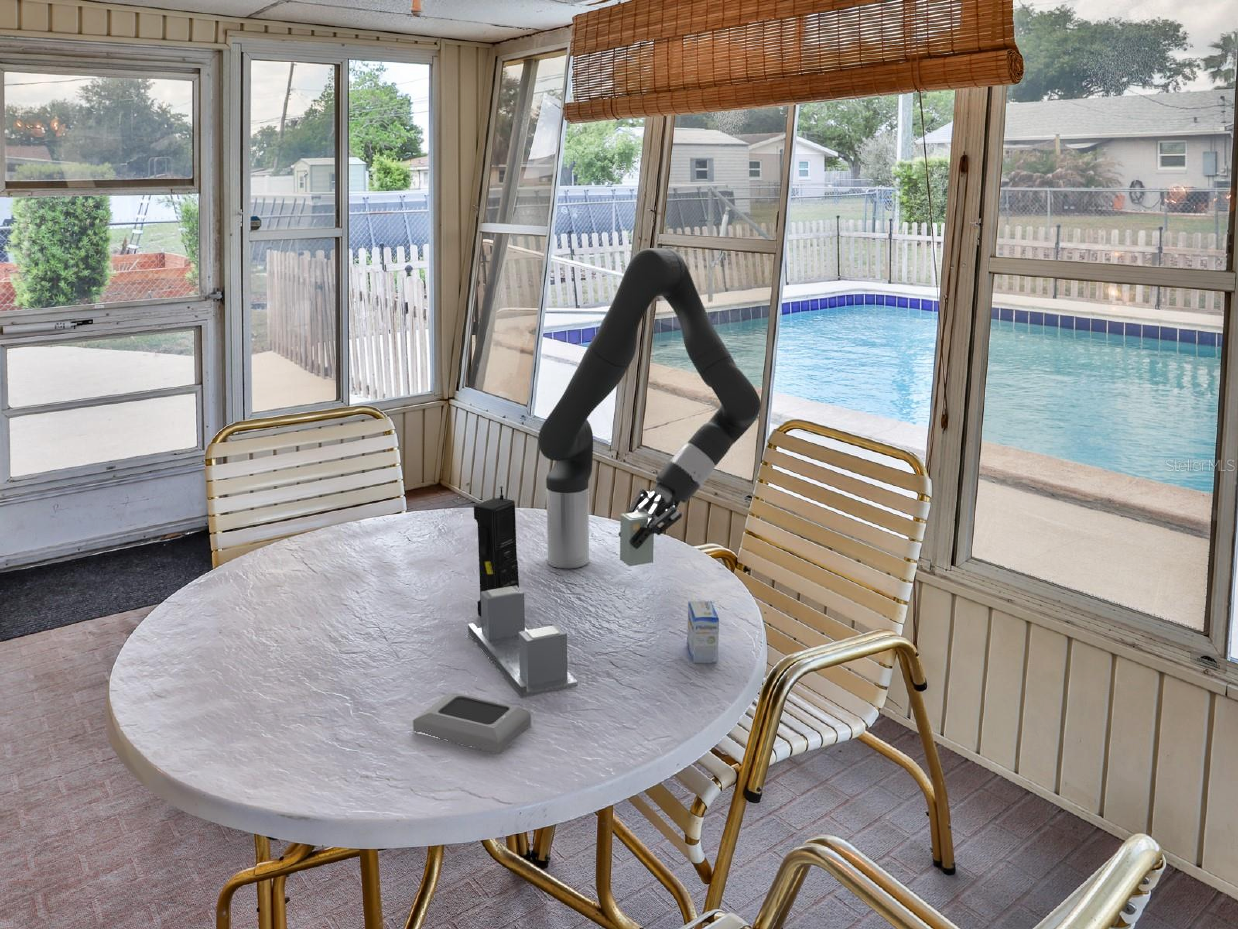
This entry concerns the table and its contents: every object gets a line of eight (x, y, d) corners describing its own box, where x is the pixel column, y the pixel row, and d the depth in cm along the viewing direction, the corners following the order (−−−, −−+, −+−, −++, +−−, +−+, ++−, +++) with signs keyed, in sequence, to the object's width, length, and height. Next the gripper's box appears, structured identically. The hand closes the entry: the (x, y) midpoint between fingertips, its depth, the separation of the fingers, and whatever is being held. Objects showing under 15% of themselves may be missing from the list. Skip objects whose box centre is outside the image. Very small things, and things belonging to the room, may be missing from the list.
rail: (468, 634, 191) (468, 624, 191) (519, 624, 196) (518, 615, 195) (521, 698, 167) (520, 687, 166) (577, 686, 171) (577, 675, 171)
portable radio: (498, 625, 195) (494, 499, 189) (473, 619, 198) (468, 494, 192) (523, 612, 202) (520, 489, 195) (499, 605, 205) (495, 484, 198)
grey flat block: (447, 686, 164) (530, 705, 158) (448, 707, 165) (531, 727, 159) (412, 713, 155) (498, 733, 149) (413, 735, 156) (499, 756, 150)
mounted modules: (481, 632, 190) (480, 590, 188) (517, 625, 193) (516, 584, 191) (528, 686, 169) (527, 640, 167) (567, 677, 172) (566, 632, 170)
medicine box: (686, 645, 187) (687, 600, 185) (710, 644, 187) (712, 599, 185) (693, 664, 179) (694, 617, 177) (718, 663, 180) (719, 616, 178)
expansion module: (619, 559, 195) (620, 513, 193) (643, 555, 197) (644, 510, 195) (629, 566, 192) (630, 519, 189) (653, 562, 194) (654, 516, 191)
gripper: (656, 451, 199) (598, 519, 197) (692, 469, 187) (631, 542, 185) (679, 475, 203) (623, 542, 201) (716, 494, 190) (657, 565, 188)
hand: (627, 541), depth 193 cm, fingers closed on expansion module, 4 cm apart
